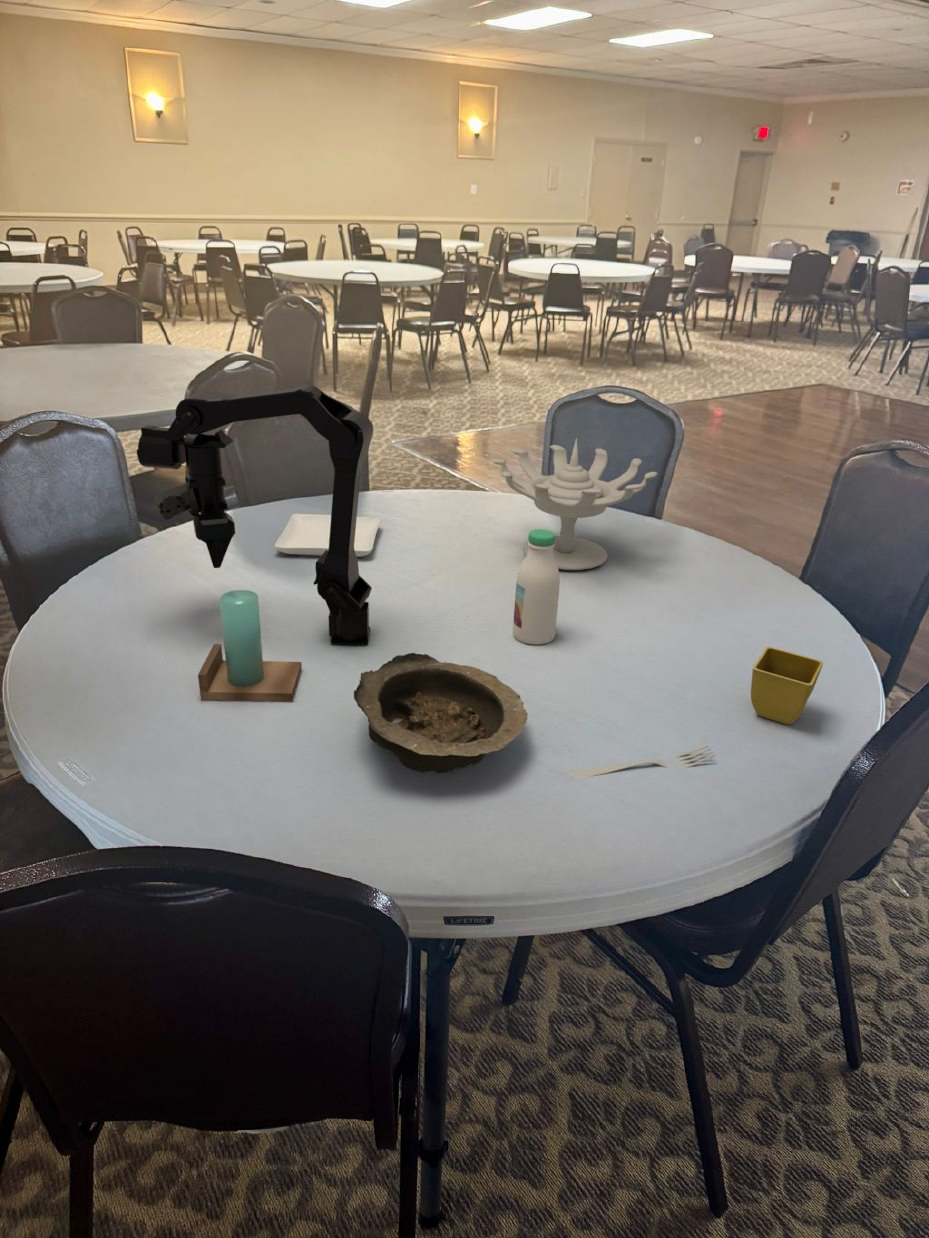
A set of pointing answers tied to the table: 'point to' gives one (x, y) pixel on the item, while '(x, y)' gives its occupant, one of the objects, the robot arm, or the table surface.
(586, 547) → the candelabra
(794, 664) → the flower pot
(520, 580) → the milk bottle
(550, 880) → the table surface
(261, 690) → the shelf board
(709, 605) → the table surface
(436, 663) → the stone bowl
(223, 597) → the mint green capsule
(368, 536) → the salad plate
